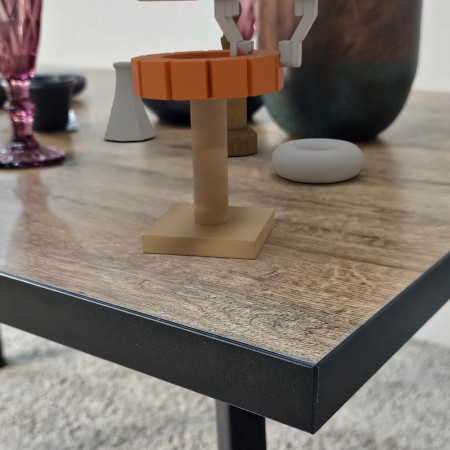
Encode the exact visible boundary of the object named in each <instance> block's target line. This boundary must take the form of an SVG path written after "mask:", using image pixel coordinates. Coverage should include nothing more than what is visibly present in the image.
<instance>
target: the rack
mask: <svg viewBox="0 0 450 450" xmlns="http://www.w3.org/2000/svg"><path fill="white" fill-rule="evenodd" d="M189 107H190V108H189V109H190V132H191V136H190V137H191V161H192V162H191V163H192V187H193V188H192V189H193V204H191V203H174V204H172V206H170V208H169V209H167V210H166V211H165V212H164V213H163V214H162V215H161V216H160V217H159V218H158V219H157V220H155V222H154V223H152V225H151V226H150V227H148V228H147V229H146V230H145V231H144V232H143V233H142V234H141V242H142V245H141V246H142V253H144V254H145V253H146V254H148V253H149V254H163V255H178V256H180V255H181V256H194V257H210V258H212V257H213V258H228V259H244V260H246V259H247V260H256V259H257V257H258V255H259V253H260V251H261V250H262V248H263V246H264V244H265V243H266V241H267V239H268V238H269V235H270V233H271V232H272V230H273V228H274V227H275V225H276V208H275V207H259V206H236V205H234V206H233V205H229V164H228V163H229V162H228V157H229V156H228V153H227V99H217V100H214V99H211V98H209V99H207V100H189Z"/></svg>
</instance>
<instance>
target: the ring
mask: <svg viewBox="0 0 450 450" xmlns="http://www.w3.org/2000/svg"><path fill="white" fill-rule="evenodd" d="M279 57H280V53H279V50H272V49H254V51H253V52H252V54H251V55H245V56H236V57H230V50H223V49H208V50H187V51H186V50H185V51H174V52H160V53H152V54H150V53H149V54H146V55H138V56H134V57H131V58H130V62H131V68H132V81H133V93H134V94H135V95H137V96H138V97H140V98H141V99H142V98H143V99H148V100H159V101H160V100H161V101H171V100H173V101H190V100H207V99H209V98H211V99H214V100H217V99H229V98H242V97H246V98H248V97H257V96H263V95H269V94H274V93H276V92H277V93H278V92H280V91H281V90H282V89H284V86H285V85H284V83H285V82H284V81H285V80H284V67H280V66H279Z"/></svg>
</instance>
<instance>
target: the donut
mask: <svg viewBox="0 0 450 450" xmlns="http://www.w3.org/2000/svg"><path fill="white" fill-rule="evenodd" d="M270 161H271V167H272V169H273V171H274V172H275V173H276V174H277V175H278V176H280V177H281V178H282V179H286V180H289V181H291V182H298V183H305V184H307V183H308V184H329V183H338V182H343V181H347V180H349V179H352V178H353V177H356V176H357V175H358V174H359V173H360V172H361V170H362V168H363V167H364V164H365V156H364V153H363V151H362V150H361V148H359V146H358V145H357V144H354V143H352V142H350V141H346V140H341V139H335V138H301V139H294V140H289V141H286V142H282V143H281V144H280V145H278V146H277V147H276V148H275V149H274V150H273V152H272V154H271V157H270Z"/></svg>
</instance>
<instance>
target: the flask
mask: <svg viewBox="0 0 450 450" xmlns="http://www.w3.org/2000/svg"><path fill="white" fill-rule="evenodd" d="M112 66H113V69H114V70H115V89H114V96H113V101H112V105H111V109H110V114H109V118H108V122H107V125H106V130H105V134H104V137H103V140H108V141H109V140H110V141H116V142H117V141H118V142H133V141H144V140H147V139H151V138H154V137H155V131H154V128H153V125H152V122H151V120H150V118H149V116H148V113H147V111H146V108H145V105H144V103H143V100H142V98H140V97H138V96H137V95H135V94H134V93H133V81H132V68H131V61H116V62H113V63H112Z"/></svg>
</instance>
